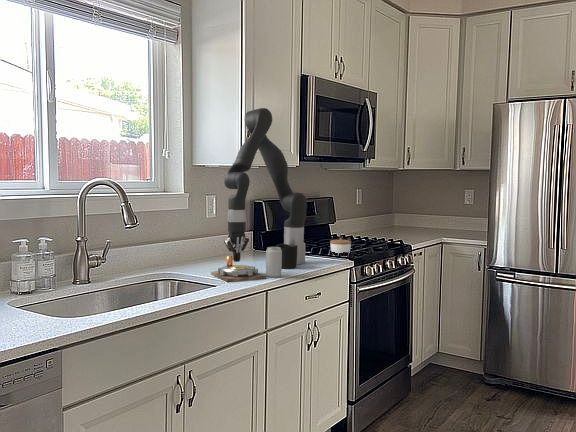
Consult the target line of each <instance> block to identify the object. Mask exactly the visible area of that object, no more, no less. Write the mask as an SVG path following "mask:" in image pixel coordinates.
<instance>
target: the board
mask: <svg viewBox="0 0 576 432" xmlns="http://www.w3.org/2000/svg"><path fill="white" fill-rule="evenodd" d="M210 275H211V276H213V277H215V278H217V279H219V280H220V281H223V282H226V283H233V282H246V281H256V280H266V279H267V275H266V274H263V273H260V272H258V274H256V273H255V274H254V275H251V276H226V275H221V274H220V273H218V270H216V271H210Z"/></svg>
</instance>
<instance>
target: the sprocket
mask: <svg viewBox="0 0 576 432" xmlns="http://www.w3.org/2000/svg"><path fill="white" fill-rule="evenodd" d="M217 271H218V273H220V274H221V275H226V276H251V275H254V274H255V273H256V274H258V273H259V268H256V266H253V265H243V264H235V265H233V255H232V256H231V255H227V256H226V265H224V266H221V267H218V269H217Z"/></svg>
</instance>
